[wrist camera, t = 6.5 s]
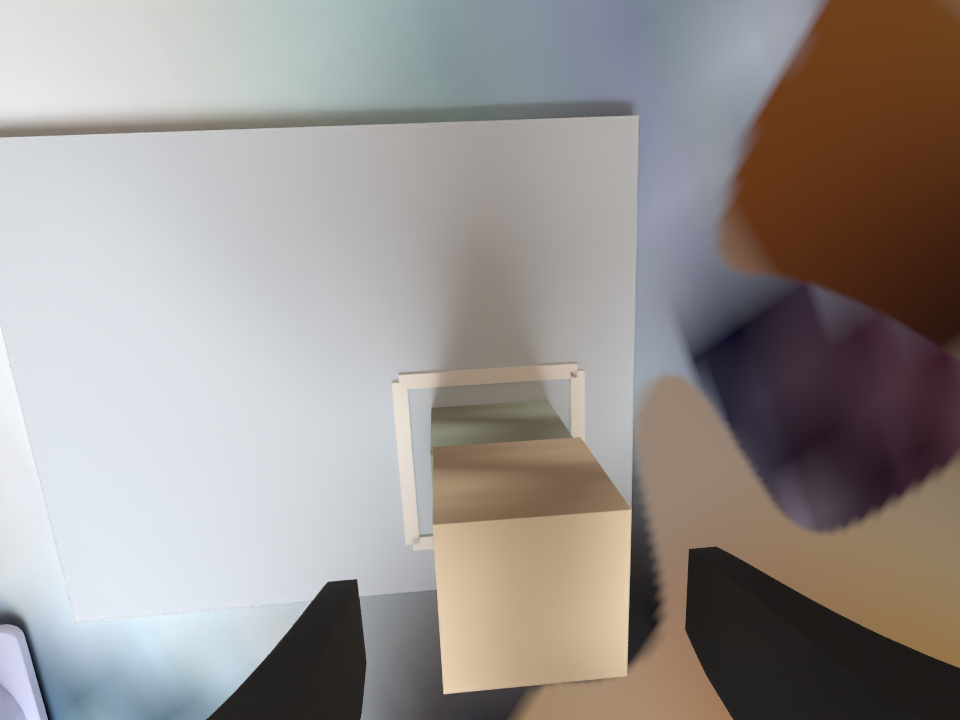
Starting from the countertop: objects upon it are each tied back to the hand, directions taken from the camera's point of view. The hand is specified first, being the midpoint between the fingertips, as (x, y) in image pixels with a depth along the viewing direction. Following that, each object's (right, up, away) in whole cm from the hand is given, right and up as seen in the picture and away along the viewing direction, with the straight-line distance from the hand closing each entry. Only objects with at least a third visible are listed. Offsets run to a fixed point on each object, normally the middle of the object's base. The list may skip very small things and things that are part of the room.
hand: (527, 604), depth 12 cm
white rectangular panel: (-6, +4, +7) cm, 10 cm away
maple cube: (0, +1, +4) cm, 4 cm away
